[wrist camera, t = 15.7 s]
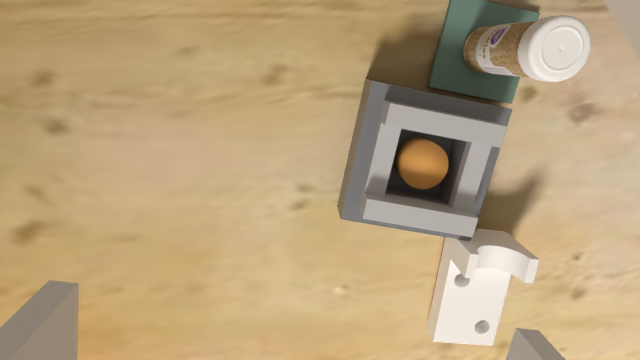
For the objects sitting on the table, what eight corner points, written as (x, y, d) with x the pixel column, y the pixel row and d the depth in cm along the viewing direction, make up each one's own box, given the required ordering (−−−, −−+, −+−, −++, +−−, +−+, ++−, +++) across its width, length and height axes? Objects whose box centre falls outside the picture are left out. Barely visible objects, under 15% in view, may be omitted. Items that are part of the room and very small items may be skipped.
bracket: (444, 224, 49) (470, 253, 42) (504, 230, 50) (539, 259, 42) (424, 323, 53) (444, 365, 45) (480, 327, 53) (508, 370, 46)
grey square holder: (337, 206, 47) (343, 230, 41) (365, 78, 44) (377, 82, 37) (457, 226, 49) (482, 253, 42) (494, 105, 45) (528, 113, 39)
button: (389, 176, 46) (395, 184, 43) (400, 132, 44) (407, 137, 42) (432, 184, 46) (441, 192, 43) (444, 141, 45) (454, 146, 42)
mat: (427, 86, 44) (429, 86, 44) (451, -6, 42) (453, -7, 41) (508, 103, 45) (511, 103, 45) (536, 13, 43) (540, 13, 42)
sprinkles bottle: (472, 19, 42) (549, 4, 29) (513, 36, 43) (606, 28, 30) (453, 65, 43) (519, 69, 30) (493, 80, 44) (574, 91, 31)
